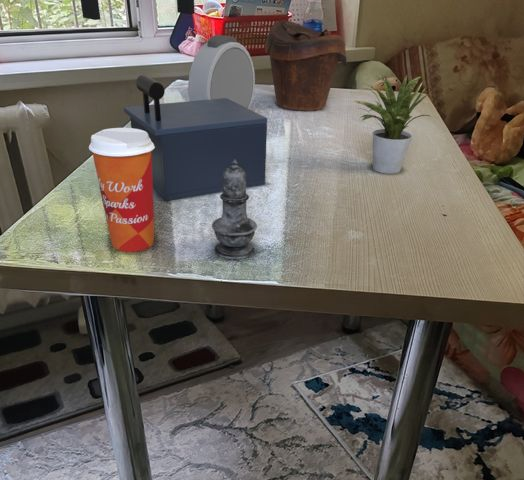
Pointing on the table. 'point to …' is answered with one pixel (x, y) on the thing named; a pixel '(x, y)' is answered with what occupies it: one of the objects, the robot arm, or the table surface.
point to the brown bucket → (303, 64)
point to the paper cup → (126, 185)
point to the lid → (187, 112)
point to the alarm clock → (222, 72)
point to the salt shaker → (234, 217)
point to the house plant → (392, 125)
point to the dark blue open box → (205, 159)
